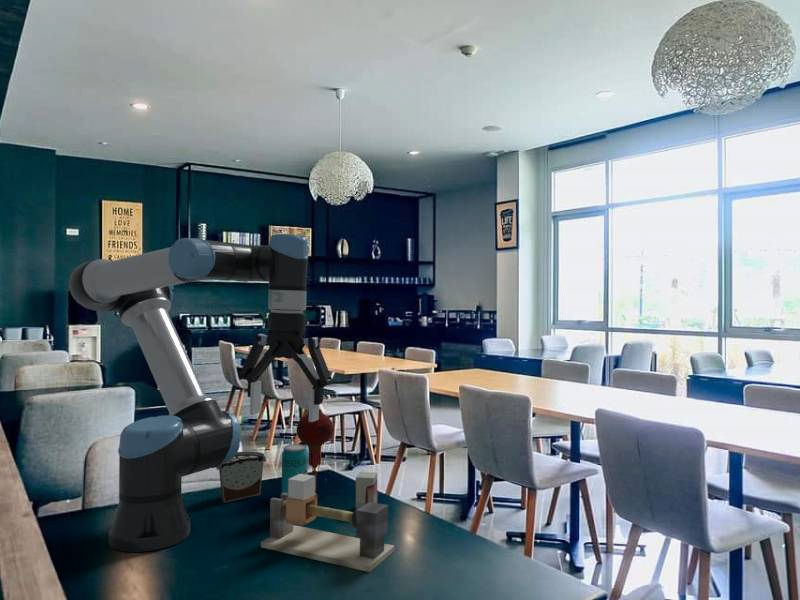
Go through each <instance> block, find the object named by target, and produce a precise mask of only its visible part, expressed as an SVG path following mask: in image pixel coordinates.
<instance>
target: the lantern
mask: <svg viewBox="0 0 800 600" xmlns="http://www.w3.org/2000/svg"><path fill="white" fill-rule="evenodd" d="M333 432H334V425H333V422H332V420H331V418H329V416H328V415H326V414H324V413H323V411H322V409H320V408H319V420H316V421H314V422H309V411H308V412H307V413H306V414H305V415H303V416H301V417H300V419H299V421H298V422H297V426H296V435H297V438H298V439H299V440H300V441H301V442H302V443H303V444H304V445H305V444H306V447H308V448H307V449H308V466H311V468H312V469H313V470H312V474H311V475H312V476H315V490H317V489H318V471H317V470H316V468H318V467H319V466H321V464H322V446H323V445H324V444H325V443H328V442H329V440H330V439H331V437H332V436H333Z"/></svg>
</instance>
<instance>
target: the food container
mask: <svg viewBox="0 0 800 600" xmlns="http://www.w3.org/2000/svg"><path fill="white" fill-rule="evenodd" d="M264 462H267V460H266V455H265V453H264V452H259V451H238V452H237V454H236V455H235V457H234V458H233V459H232V460H230V461H229V462H227V463H224V464H222V465H220V466H218V467H216V470H217V471H218V472H219V481H220V482H219V484H220V494H221V501H222V503H224V504H225V503H229V502H233V501H238V500H242V499H243V500H244V499H248V498H252V497H257V496H261V489H262V480H263V479H262V478H263V472H264V471H263V468H264Z"/></svg>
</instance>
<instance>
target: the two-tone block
mask: <svg viewBox="0 0 800 600" xmlns="http://www.w3.org/2000/svg"><path fill="white" fill-rule="evenodd" d="M306 504H310V505H316V506H318V493H316V489H315V476H312V474H308V475H306V474H298V475H296V476H294V477H292V478H289V479H288V497H287V498H286V522H287V523H291V524H293V525H296V526H301V527H305V526H306V525H307V524H308V523H311V522H312V521H314V520H316V519H317V518H318V516H316V515H310V514H306Z"/></svg>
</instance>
